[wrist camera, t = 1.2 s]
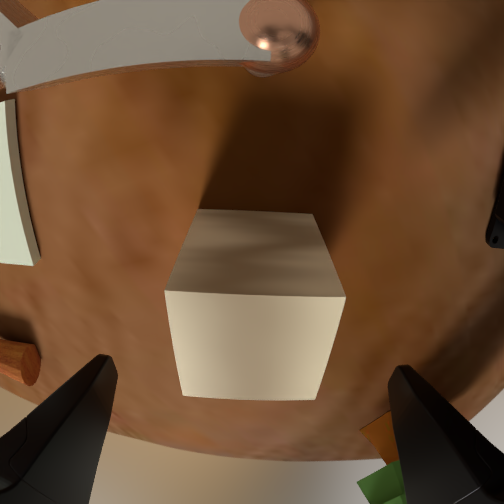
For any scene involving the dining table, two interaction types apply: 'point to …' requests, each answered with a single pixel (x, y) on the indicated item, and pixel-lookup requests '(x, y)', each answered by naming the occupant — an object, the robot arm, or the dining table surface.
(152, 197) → the dining table surface
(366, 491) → the decorative tree
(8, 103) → the sage pad
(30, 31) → the steel handle
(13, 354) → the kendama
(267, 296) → the birch block
